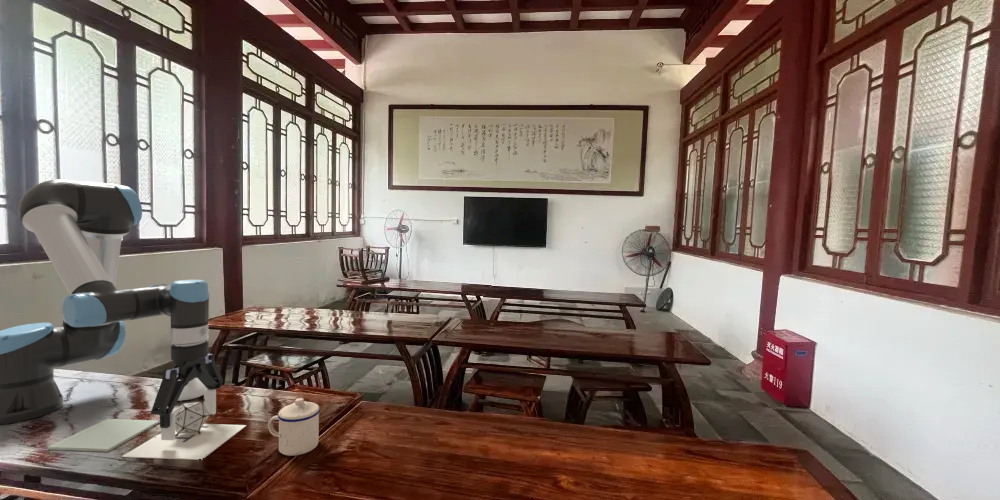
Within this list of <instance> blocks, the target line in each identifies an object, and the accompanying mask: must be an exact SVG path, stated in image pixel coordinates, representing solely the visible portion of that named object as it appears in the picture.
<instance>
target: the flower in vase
mask: <svg viewBox="0 0 1000 500" xmlns="http://www.w3.org/2000/svg"><path fill="white" fill-rule="evenodd" d="M178 381H181V380H180V379H178ZM205 389H208V388H206V387H205V386H204V384H203V383H202V382H201V381H200V380H199V379H198V378H194V379H193V380H191V381H189V383H188V384H187V385H186V386H185V387H184V389H183V391H182V393H181V395H180V397H179V399H178V401H179V402H180V401H182V402H183V401H189V400H194V399H197V398H200V397H202V396H204V390H205ZM178 401H177V402H178Z"/></svg>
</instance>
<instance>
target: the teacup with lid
mask: <svg viewBox="0 0 1000 500" xmlns="http://www.w3.org/2000/svg"><path fill="white" fill-rule="evenodd" d="M320 412H321V408H320V406H319V404H317V403H315V402H311V401H306V400H305V399H304V397H299V398H296V399H295V400H294V402H293V403H291V404H288V405H285V406H283V407H282V408H281V409H280V410H279V411H278V414H277V415H273V416H272V417H271V418H270V419H269V420H268V422H267V428H268V431H269V433H270V434H271V435H272V436H274V437H278V452H279V453H280V454H282V455H284V456H289V457H290V456H300V455H304V454H307V453H309V452H311V451H313V450H314V449H315V448H317V446H318V445H319V441H320V440H319V435H320V434H319V433H320V430H319V428H320V427H319V426H320V425H319V424H320V421H319V420H320V417H319V416H320ZM276 420H278V431H277V430H276V428H275V427H274V422H273V421H276Z"/></svg>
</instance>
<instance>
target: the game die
mask: <svg viewBox="0 0 1000 500" xmlns="http://www.w3.org/2000/svg"><path fill="white" fill-rule="evenodd" d="M204 401H205V399H204V398H203V399H202V400H201V401H195V402H183V401H179V403H180V405H179V407H178V408H177V409H176V410H175V411H174V412H175V430H176V432H177V434H176V435H175V437H176V436H178V434H181V433H191V432H198V434H201V432H200V429H201V428H202V426H203V425H204V424H206V422H207V420H208V419H209V417H213V416H214V414H209V413H208V411H207V409H206V407H205V405H204Z"/></svg>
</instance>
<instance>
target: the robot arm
mask: <svg viewBox="0 0 1000 500" xmlns="http://www.w3.org/2000/svg"><path fill="white" fill-rule="evenodd" d="M17 212H18V218H19V220H20V222H21V223H22V225H23V227H24V228H25V229H26V230H28V231H29V232H30V233H34V234H35V237H36V238H37V240H38V242H39V243H40V245H41V247H42V248H43V250H44V252H45V254H46V255H47V257H48V259H49V261H50V262H51V264H52V266H53V268H54V269H55V271H56V273H57V275H58V277H59V278H60V280H61V281H62V284H63V285H64V287H65V289H66V290H67V292H68V294H69V295H68V296H66V297H65V298H64V300H63V303H62V307H61V308H62V309H61V310H62V314H63V321H62V324H61V325H57V326H54V325H53V324H52V323H51V322H36V323H28V324H21V325H16V326H13V327H9V328H5V329H2V330H0V425H8V424H13V423H18V422H23V421H28V420H32V419H36V418H39V417H42V416H46V415H48V414H51V413H53V412H55V411H57V410H60V408H62V407H63V406H64V395H63V394H62V393H61V391H60V389H59V387H58V384H57V383H56V381H55V379H54V370H55V368H56V369H57V368H62V367H66V366H71V365H75V364H80V363H81V364H82V363H85V362H91V361H97V360H101V359H104V358H107V357H111V356H115V354H117V353H119V351H120V350H121V349H122V348H123V346H124V344H125V341H126V336H127V334H126V333H127V331H126V324H125V322H126V321H131V320H132V321H133V320H140V319H141V320H142V319H146V318H147V319H148V318H153V317H160V316H167V317H170V343H171V344H172V345H171V346H170V360H171V361H173V363H174V367H173V368H172V369H167V368H166V369H164V370H163V371H162V378H161V382H160V385H159V389H158V391H157V394H156V397H155V400H154V402H153V405H152V408H151V411H150V415H151V416H152V415H153V416H154V415H155V416H156V415H157V416H159V421H160V423H159V428H160V430H161V431H160V433H161V440H174V439H175V412H176V411H173V410H174V408H175V407H176V404H177V402H178V399H179V397H180V395H181V393H182V391H183V389H184V387H185V386H186V385H187V384H188V383H189V381H191V380H193V379H194V378H198V379H199V380H200V381H201V382H202V383H203V384H204V386H205V387H206V388H208V389H205V390H204V395H203V399H205V401H204V402H203V403H204V405H205V407H206V409H207V411H208V413H209V415H210V414H213V415H216V413H217V389H219V390H220V388H221V387H222V384H223V383H224V382H223V381H224V380H223V377H222V374H221V373H220V370H219V368H218V365H217V363H216V359H215V353H210V352H209V351H210V348H209V346H210V344H209V341H208V340H209V316H210V312H209V311H210V307H209V305H210V293H209V284H208V282H207V281H206V280H203V279H182V280H181V279H180V280H174V281H172V282H171V284H169V285H168V284H166V283H164V284H163V283H162V284H152V285H148V286H145V287H138V288H125V289H122V288H121V289H117V285H116V284H117V278H118V276H117V275H118V271H119V269H118V268H119V263H120V253H121V247H122V245H121V244H122V238H123V237H125V236H127V235H129V234H130V230H131V227H133V226H136V225H138V224H140V222H141V220H142V218H143V207H142V203H141V199H140V197H139V196H138V194H137V192H136V191H135V190H134V189H133V188H131V187H129V186H127V185H122V184H115V183H112V182H111V183H108V182H107V183H105V182H96V181H83V180H81V181H80V180H69V179H64V178H63V179H61V178H60V179H50V180H46V181H42V182H40V183H37V184H36V185H34V186H31V187H30V188H29V189H28V190H27V191H25V193H24V194H23V196H21V199H20V200H19V203H18V207H17ZM179 380H181V381H179Z"/></svg>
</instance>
